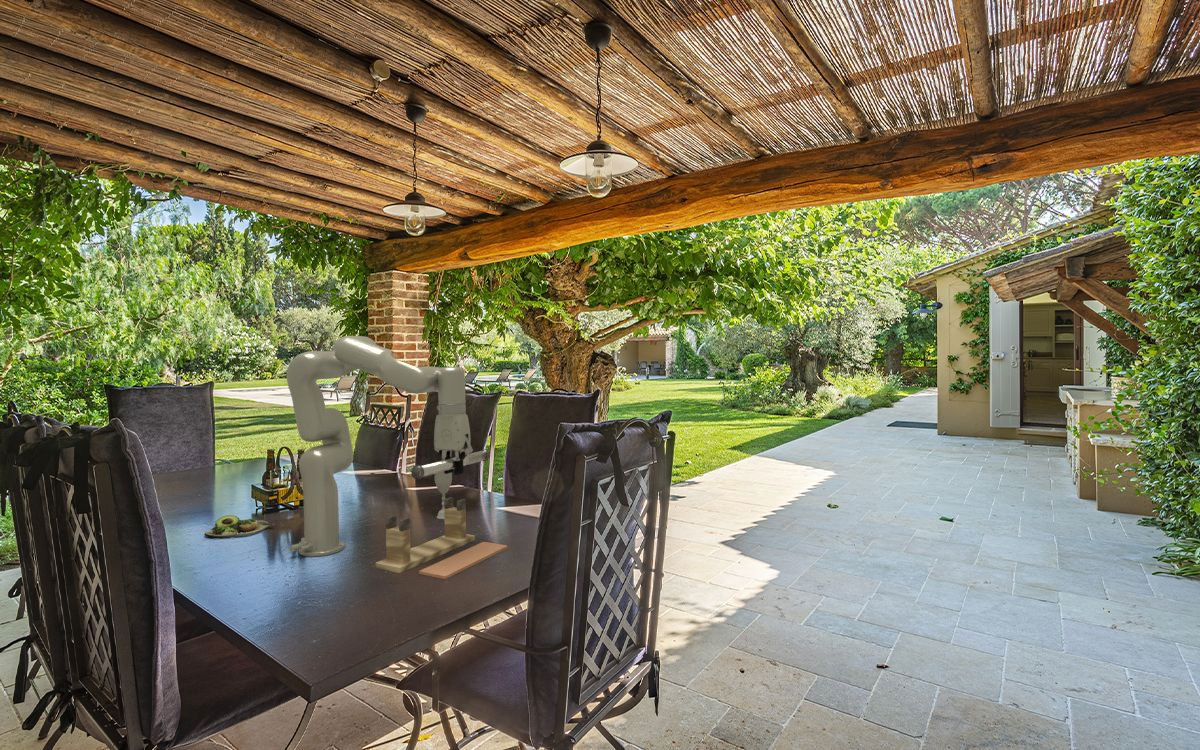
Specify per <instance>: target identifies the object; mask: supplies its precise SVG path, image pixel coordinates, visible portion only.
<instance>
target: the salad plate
mask: <svg viewBox="0 0 1200 750" xmlns="http://www.w3.org/2000/svg"><path fill="white" fill-rule="evenodd" d="M275 525H276V524H275V523H271V522H268V521H266V520H261V519H260V520H259V519H258V520H257V519H256V518H248V519H246V518H245V519H240V518H239V517H238V516H237V515H234V514H233V515H231V514H230V515H224V516H221V517H220V518H219V517H218V519H217V520H216V521H214V527H212V528H210V529H208V530H206V531H205V532H204V536H205V537H206V538H208V539H213V538H220V539H231V537H234V538H242V537H241V536H244V537H250V536H253V535H257V534H259V532H260V533H261V532H263V531H264V530H266V529H267V528H269V527H272V526H273V527H274V526H275ZM240 532H244V533H240ZM245 532H247V533H245ZM237 533H238V534H237ZM249 535H250V536H249Z"/></svg>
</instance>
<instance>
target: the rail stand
mask: <svg viewBox="0 0 1200 750" xmlns="http://www.w3.org/2000/svg"><path fill="white" fill-rule="evenodd" d="M466 503H467V502H466V498H462V499H459V500H457V501H456V507H455V506H454V497H452V496H450V497H448V498H446V499H444V519H443V520H444V535H443V534H442V535H441V536H439V537H437V538H434V539H431V540H429V541H426V542H424V543H421V544H419V545H417V546H414V547H411V518H410V517H405V518H402V519H400V520H398V522H397V515H391V516H388V517H386V518H385V554H386V558H384V559H381V560H379V561H376V562H375V569H379V570H383V571H388V572H390V573H391V572H392V573H395V574H401V573H403V572H404V573H405V572H406V571H408V570H411V569H412V568H415V567H417V566H420V565H422V564H424V563H426V562H429V561H432V560H433V559H435V558H438V557H440V556H442V555H444V554H447V553H450V552H451V551H453V550H456V549H458V548H460V547H463V546H465V545H468V544H469V543H471V542H474V541H476V536H475V535H473V534H467V523H466V522H467V516H466V515H467V513H466V511H467V510H466V508H467V507H466V506H467V505H466ZM397 523H398V526H397Z"/></svg>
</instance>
